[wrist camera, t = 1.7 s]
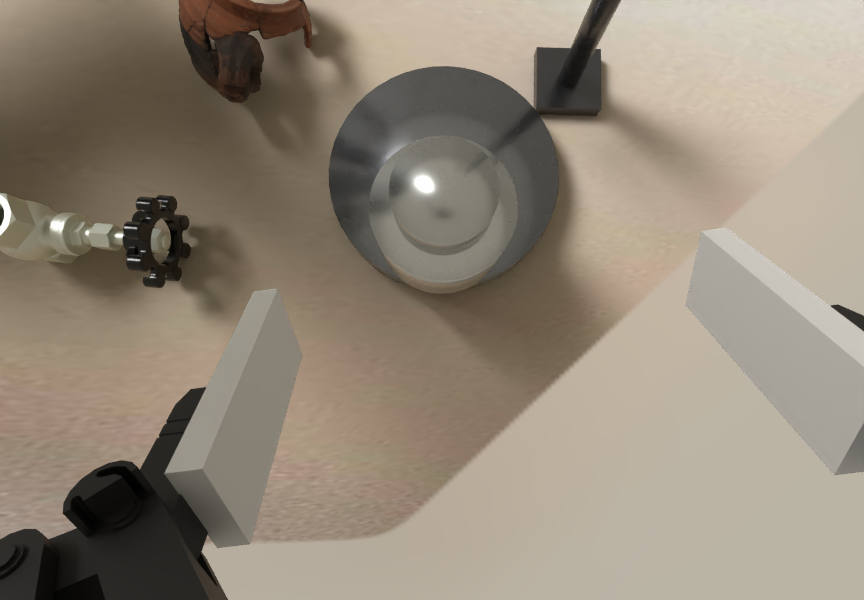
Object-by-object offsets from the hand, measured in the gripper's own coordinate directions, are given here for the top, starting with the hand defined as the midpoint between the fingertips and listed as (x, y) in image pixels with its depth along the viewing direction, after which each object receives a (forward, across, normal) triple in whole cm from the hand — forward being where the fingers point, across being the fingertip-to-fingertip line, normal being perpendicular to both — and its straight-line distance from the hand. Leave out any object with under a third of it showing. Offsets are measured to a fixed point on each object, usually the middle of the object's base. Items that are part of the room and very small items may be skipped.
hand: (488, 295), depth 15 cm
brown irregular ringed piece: (+31, -14, +5) cm, 35 cm away
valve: (+22, -26, -6) cm, 34 cm away
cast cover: (+19, -1, -7) cm, 20 cm away
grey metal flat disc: (+23, 0, -5) cm, 24 cm away
